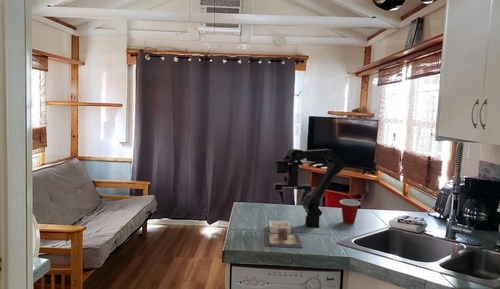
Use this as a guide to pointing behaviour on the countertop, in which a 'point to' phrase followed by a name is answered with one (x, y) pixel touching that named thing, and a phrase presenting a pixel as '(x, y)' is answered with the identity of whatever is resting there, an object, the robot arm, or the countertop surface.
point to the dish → (275, 225)
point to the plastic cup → (349, 210)
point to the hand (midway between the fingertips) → (291, 203)
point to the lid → (282, 238)
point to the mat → (267, 243)
